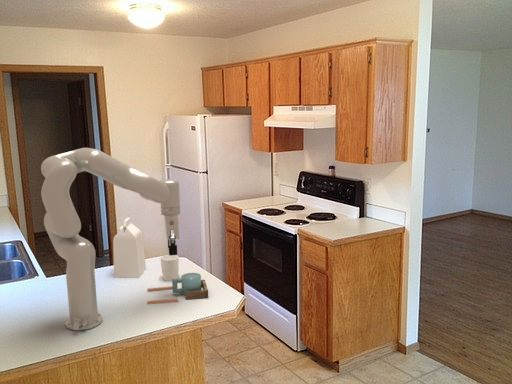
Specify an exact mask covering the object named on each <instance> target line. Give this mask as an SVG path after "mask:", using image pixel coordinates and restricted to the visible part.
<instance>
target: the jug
mask: <svg viewBox="0 0 512 384" xmlns="http://www.w3.org/2000/svg"><path fill="white" fill-rule="evenodd" d="M201 280H202V275H201V274H200V273H198V272H188V273H184V274H182V275H181V277H180V278H179V277H178V279H172V281H171V282H172V283H171V284H172V285H171V286H172V289H171V290H172V295H175V294H181V295H182V296H184V297H185V292H187V291H198V290H202V288H201ZM178 284H181V288H179V287H178Z"/></svg>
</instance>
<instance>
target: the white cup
mask: <svg viewBox="0 0 512 384" xmlns="http://www.w3.org/2000/svg"><path fill="white" fill-rule="evenodd" d="M179 257H180V256H178V254H177V255H169V254H166V255H162V256H161V257H160V264H161V265H160V266H161V274H162V280H164V281H166V282H172V279H179Z"/></svg>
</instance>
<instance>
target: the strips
mask: <svg viewBox="0 0 512 384" xmlns="http://www.w3.org/2000/svg"><path fill="white" fill-rule="evenodd" d="M169 290H173V289H172V285H171V286H169V285H168V286H160V287H150V288H147V292H159V291H169ZM175 302H176V303H177V302H179V298H178V297H175V298H166V299H165V298H164V299H152V300H146V304H147V305H153V304H164V303H175Z"/></svg>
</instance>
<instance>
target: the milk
mask: <svg viewBox="0 0 512 384" xmlns="http://www.w3.org/2000/svg"><path fill="white" fill-rule="evenodd" d="M131 219H132V218H131V217H126V218H125V219H124V220H123V225H121V226H120V227H119V228H118V229H117V231H118V232H117V233H116V234H115V235H114V236H113V239H112V242H113V243H112V245H113V246H112V248H113V251H112V252H113V279H140V278H141V276H142V275H143V274H144V273H145V271H146V270H147V268H146V266H147V265H146V257H145V246H144V237H143V232H142V231H141V230H140V229H139V228H138V227H137V226H136V225H134V224H133V223H132V220H131Z"/></svg>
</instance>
